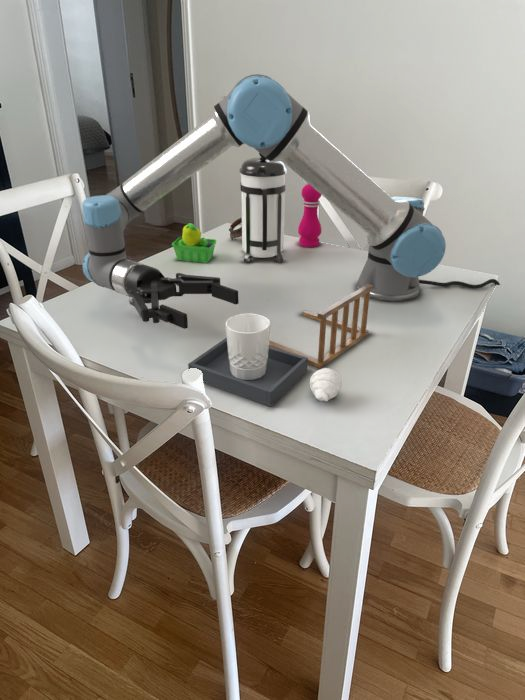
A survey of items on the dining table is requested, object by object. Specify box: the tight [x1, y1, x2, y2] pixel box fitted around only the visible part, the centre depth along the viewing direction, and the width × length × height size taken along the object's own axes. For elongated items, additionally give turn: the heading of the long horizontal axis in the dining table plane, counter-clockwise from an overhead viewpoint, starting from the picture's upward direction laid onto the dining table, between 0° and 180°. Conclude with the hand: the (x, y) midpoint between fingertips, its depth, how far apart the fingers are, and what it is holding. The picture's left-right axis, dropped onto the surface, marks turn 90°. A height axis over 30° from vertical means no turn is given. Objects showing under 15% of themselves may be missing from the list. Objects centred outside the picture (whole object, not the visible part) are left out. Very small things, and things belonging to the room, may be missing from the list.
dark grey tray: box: [187, 336, 309, 407], centre depth 100 cm, size 18×14×3 cm
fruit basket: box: [171, 222, 217, 264], centre depth 153 cm, size 11×9×11 cm
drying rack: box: [269, 284, 373, 369], centre depth 110 cm, size 18×16×11 cm
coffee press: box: [239, 152, 288, 264], centre depth 149 cm, size 17×16×30 cm
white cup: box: [225, 313, 271, 380], centre depth 98 cm, size 8×8×10 cm
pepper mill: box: [297, 183, 322, 248], centre depth 163 cm, size 7×7×20 cm
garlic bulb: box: [309, 367, 342, 402], centre depth 91 cm, size 6×6×5 cm
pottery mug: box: [228, 217, 242, 241], centre depth 171 cm, size 12×10×8 cm
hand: (212, 309), depth 100 cm, fingers open, 13 cm apart
